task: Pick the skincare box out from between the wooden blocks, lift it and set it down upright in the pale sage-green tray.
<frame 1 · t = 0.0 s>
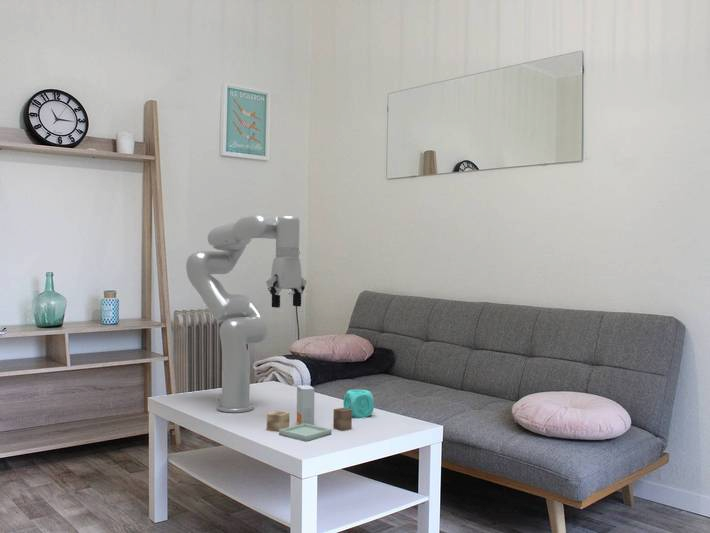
hand: (286, 306, 218), 37 cm above the table, tool pointing down, fingers open, 9 cm apart
walnut block: (342, 428, 208), on the table
tray: (305, 434, 200), on the table
skincare box: (305, 425, 212), on the table
oak cube: (278, 429, 206), on the table
decorative dice: (358, 415, 227), on the table
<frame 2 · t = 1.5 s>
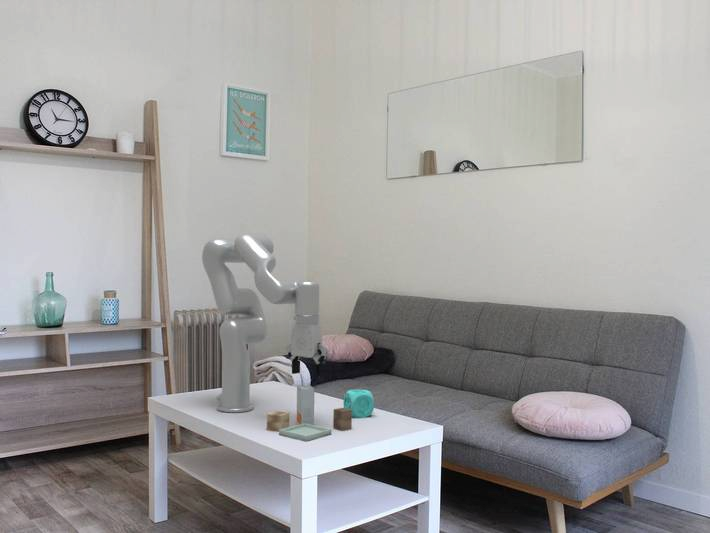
hand: (307, 374, 212), 16 cm above the table, tool pointing down, fingers open, 9 cm apart
nothing on the table moved.
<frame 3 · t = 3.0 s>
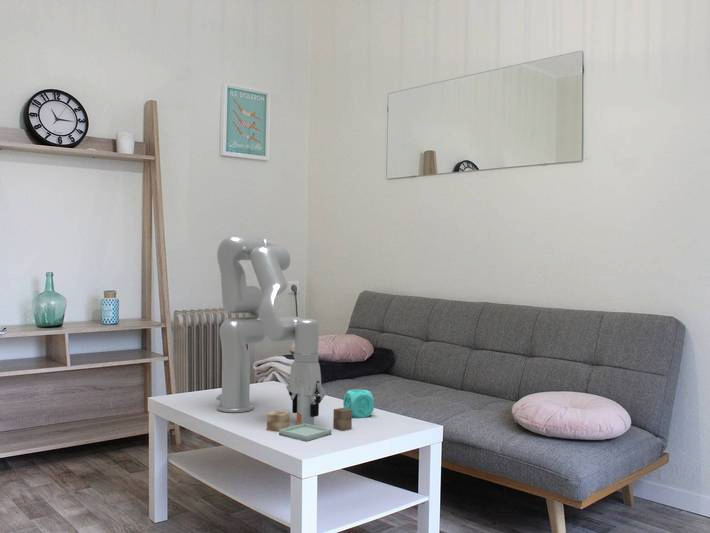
hand: (305, 414, 212), 3 cm above the table, tool pointing down, fingers closed on skincare box, 7 cm apart
skincare box: (305, 425, 212), on the table, touching gripper
everything else where it was.
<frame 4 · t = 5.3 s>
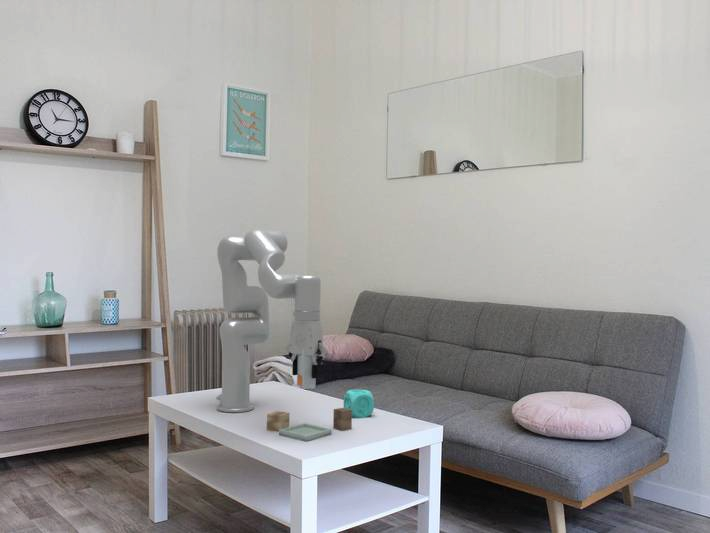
hand: (306, 375, 200), 17 cm above the table, tool pointing down, fingers closed on skincare box, 7 cm apart
skincare box: (306, 387, 200), point 14 cm above the table, touching gripper
everything else where it was.
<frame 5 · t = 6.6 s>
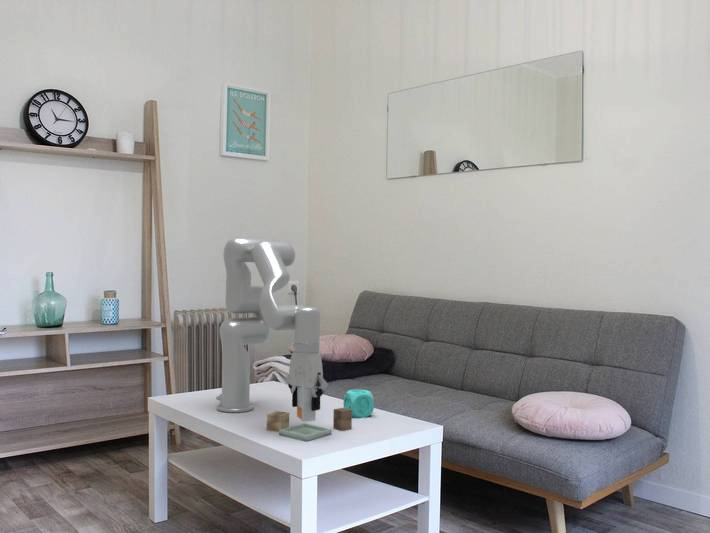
hand: (306, 407, 200), 8 cm above the table, tool pointing down, fingers closed on skincare box, 7 cm apart
skincare box: (305, 419, 200), point 4 cm above the table, touching gripper
everything else where it was.
when the fingers open (5 cm above the table, at t = 7.6 s): skincare box drops 1 cm, resting on tray.
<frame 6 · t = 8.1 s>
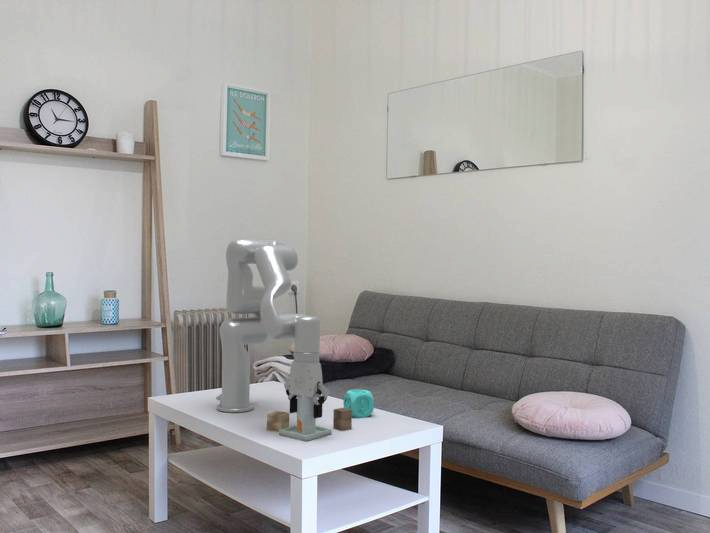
hand: (305, 415, 200), 6 cm above the table, tool pointing down, fingers open, 9 cm apart
skincare box: (306, 433, 200), resting on tray
everything else where it was.
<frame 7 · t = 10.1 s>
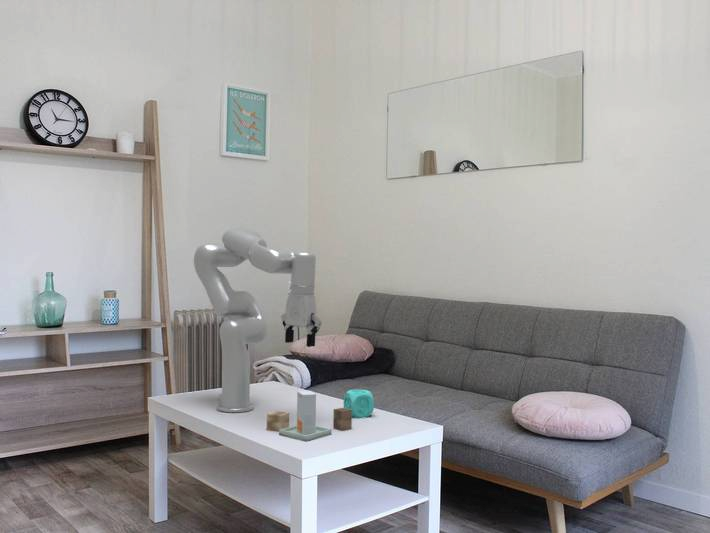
hand: (299, 344, 214), 25 cm above the table, tool pointing down, fingers open, 9 cm apart
nothing on the table moved.
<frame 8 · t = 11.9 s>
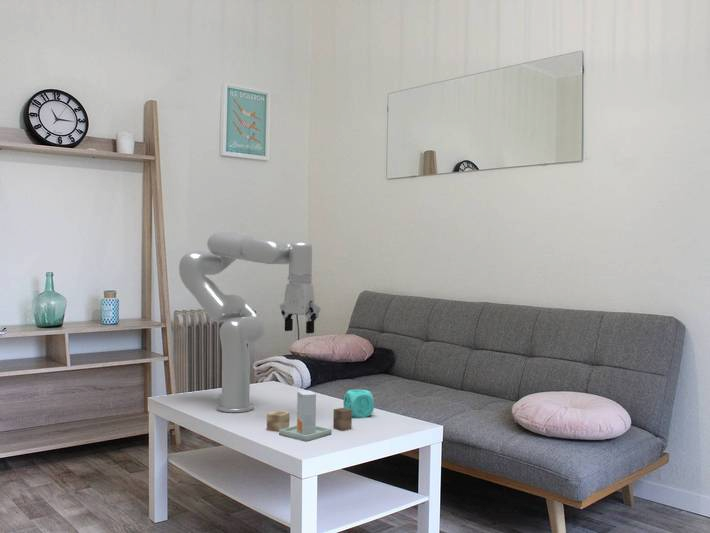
hand: (299, 332, 221), 28 cm above the table, tool pointing down, fingers open, 9 cm apart
nothing on the table moved.
at the end: skincare box inside the target area on the tray (0.2 cm from its centre), point 0.4 cm above the tray's base; skincare box tilted 0°; the gripper is holding nothing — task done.
